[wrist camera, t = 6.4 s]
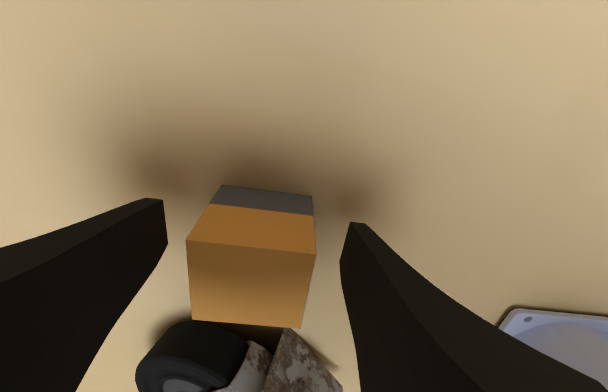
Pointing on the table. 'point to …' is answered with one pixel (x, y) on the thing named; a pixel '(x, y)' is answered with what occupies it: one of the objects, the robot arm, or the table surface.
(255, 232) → the block
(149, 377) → the caster wheel
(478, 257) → the table surface
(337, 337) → the table surface
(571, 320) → the robot arm
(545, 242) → the table surface
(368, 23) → the table surface
